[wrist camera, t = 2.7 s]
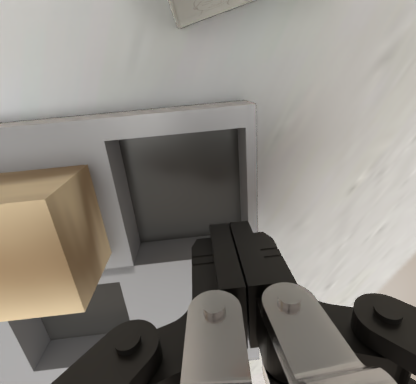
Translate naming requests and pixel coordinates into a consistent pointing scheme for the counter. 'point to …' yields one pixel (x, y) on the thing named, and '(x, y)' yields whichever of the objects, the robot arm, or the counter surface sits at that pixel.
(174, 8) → the small box
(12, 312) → the block
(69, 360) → the grey slotted tray
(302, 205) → the counter surface
